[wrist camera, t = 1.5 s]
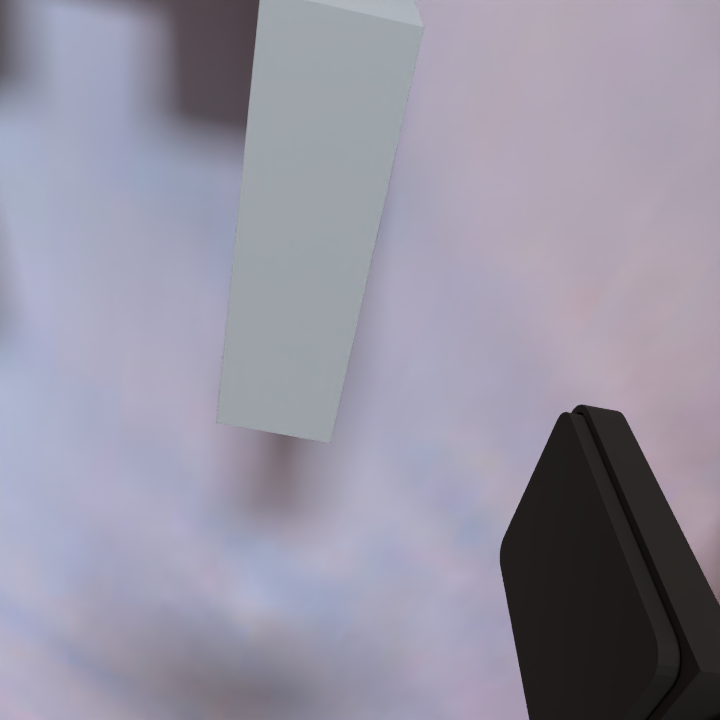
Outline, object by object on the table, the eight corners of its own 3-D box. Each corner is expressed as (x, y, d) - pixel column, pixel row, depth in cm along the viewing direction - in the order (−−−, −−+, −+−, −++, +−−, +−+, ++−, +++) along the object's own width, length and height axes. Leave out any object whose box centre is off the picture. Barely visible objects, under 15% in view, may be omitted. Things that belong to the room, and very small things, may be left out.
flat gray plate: (321, -35, 22) (261, -11, 12) (409, -14, 22) (424, 27, 12) (281, 243, 27) (216, 422, 17) (352, 257, 28) (330, 443, 17)
